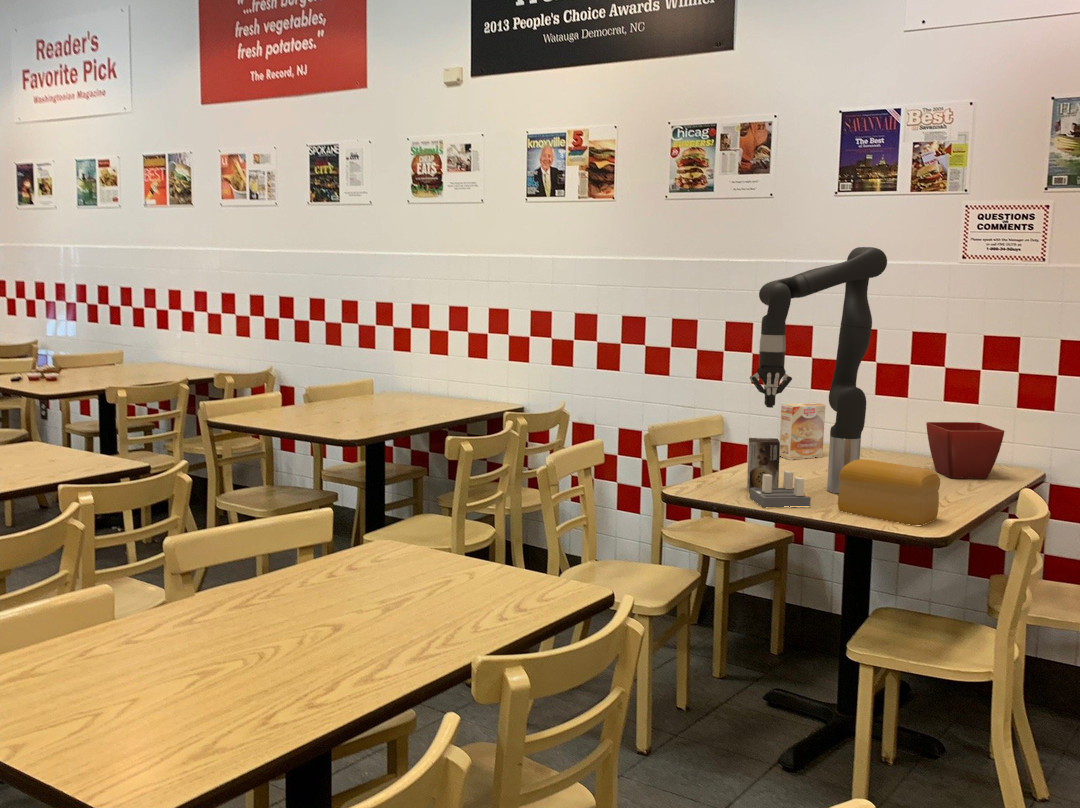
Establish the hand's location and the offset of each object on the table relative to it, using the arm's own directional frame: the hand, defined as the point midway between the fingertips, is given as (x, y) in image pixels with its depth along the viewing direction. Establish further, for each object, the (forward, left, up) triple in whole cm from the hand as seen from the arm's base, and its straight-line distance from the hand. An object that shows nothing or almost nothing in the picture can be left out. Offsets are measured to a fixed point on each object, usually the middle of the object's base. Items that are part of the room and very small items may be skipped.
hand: (769, 407), depth 318 cm
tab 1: (+3, +10, -24) cm, 26 cm away
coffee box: (-1, -6, -27) cm, 28 cm away
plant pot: (-77, -27, -27) cm, 86 cm away
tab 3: (-5, +14, -24) cm, 28 cm away
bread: (-27, +26, -27) cm, 46 cm away
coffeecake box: (-33, -60, -27) cm, 73 cm away
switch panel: (-1, +10, -27) cm, 29 cm away
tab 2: (-5, +6, -24) cm, 25 cm away
